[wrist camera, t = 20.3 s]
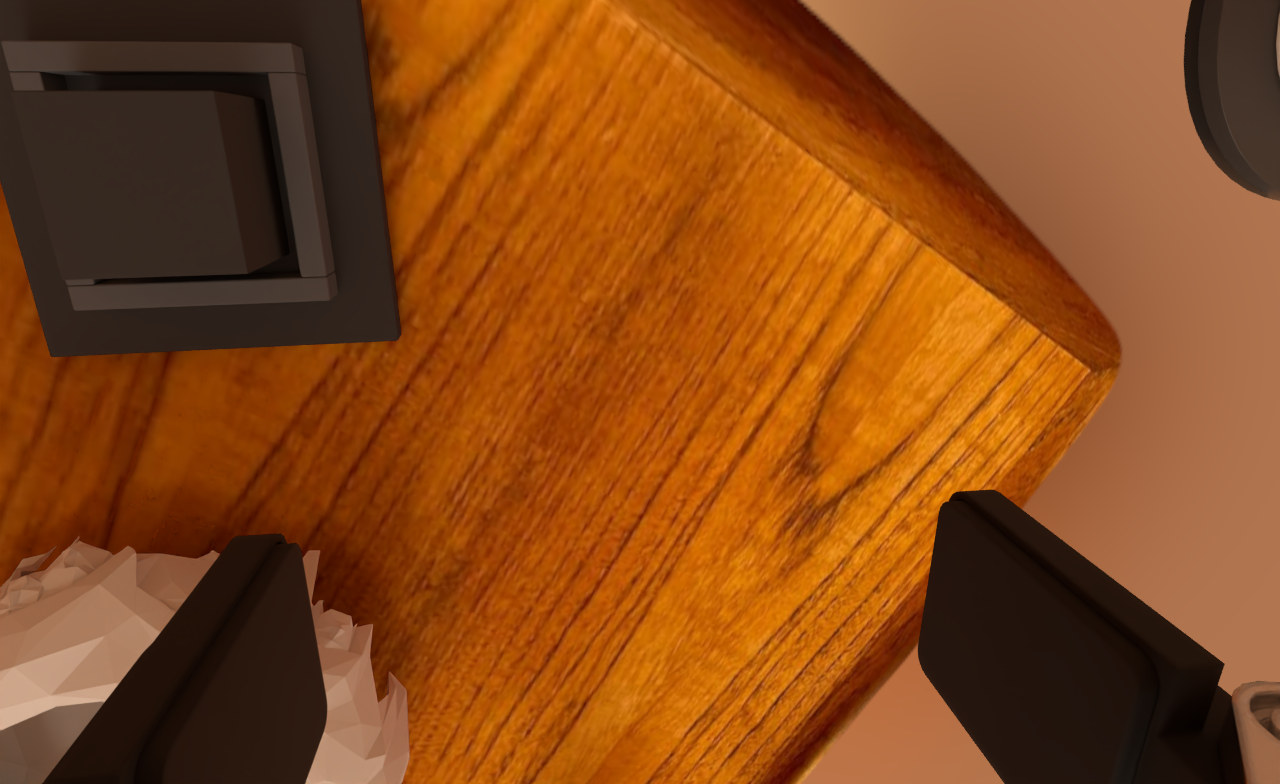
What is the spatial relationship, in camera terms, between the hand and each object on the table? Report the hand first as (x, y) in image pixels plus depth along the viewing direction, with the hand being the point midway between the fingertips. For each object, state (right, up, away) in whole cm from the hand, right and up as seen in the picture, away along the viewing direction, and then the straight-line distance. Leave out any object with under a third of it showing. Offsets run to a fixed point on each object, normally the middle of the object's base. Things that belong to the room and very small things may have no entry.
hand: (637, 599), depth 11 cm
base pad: (-18, +12, +19) cm, 29 cm away
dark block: (-18, +11, +18) cm, 28 cm away
